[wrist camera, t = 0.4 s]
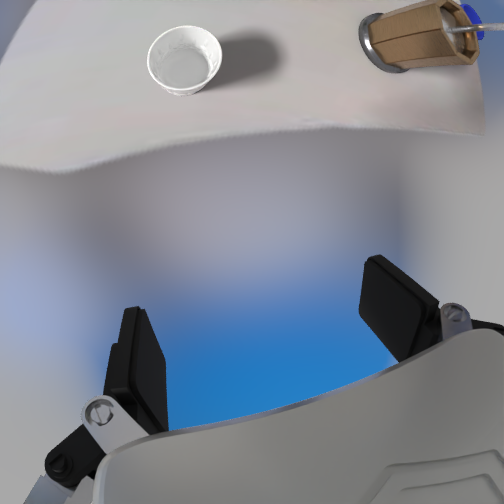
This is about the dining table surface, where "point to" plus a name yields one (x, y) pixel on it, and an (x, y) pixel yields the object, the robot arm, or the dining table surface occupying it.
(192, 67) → the white cup
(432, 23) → the tan octagonal hollow container
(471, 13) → the mug
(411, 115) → the dining table surface
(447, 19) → the plunger
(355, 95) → the dining table surface
